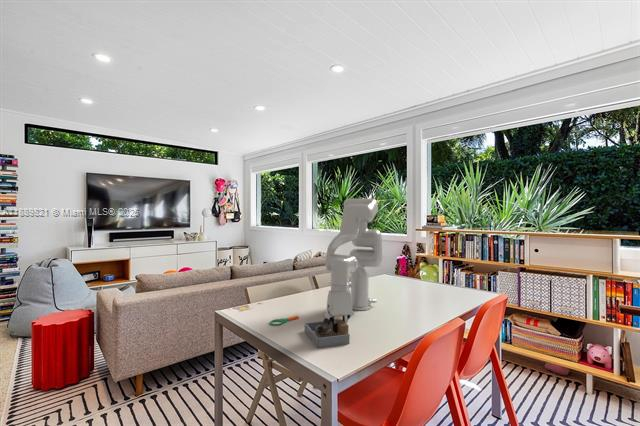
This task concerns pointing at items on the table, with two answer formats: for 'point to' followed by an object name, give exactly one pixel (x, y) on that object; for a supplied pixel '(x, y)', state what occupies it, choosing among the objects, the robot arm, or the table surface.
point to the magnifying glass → (283, 320)
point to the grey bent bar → (325, 340)
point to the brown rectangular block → (340, 327)
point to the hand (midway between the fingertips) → (339, 331)
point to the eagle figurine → (324, 327)
